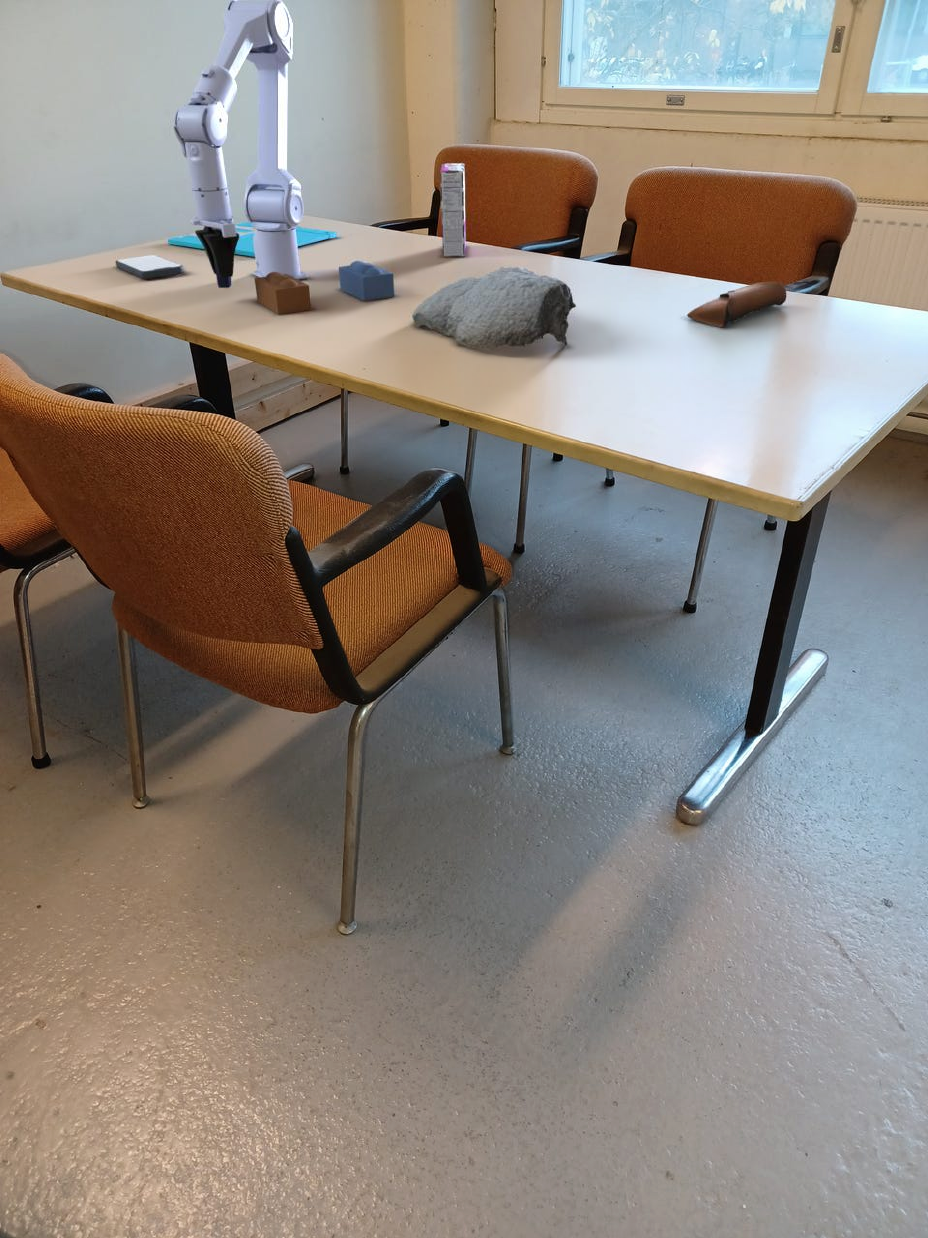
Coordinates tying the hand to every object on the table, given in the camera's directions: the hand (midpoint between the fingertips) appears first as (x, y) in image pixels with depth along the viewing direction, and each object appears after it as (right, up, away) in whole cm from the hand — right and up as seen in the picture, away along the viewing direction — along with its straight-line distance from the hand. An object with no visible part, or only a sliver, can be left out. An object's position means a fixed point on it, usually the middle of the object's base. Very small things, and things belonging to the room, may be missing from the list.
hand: (223, 274), depth 153 cm
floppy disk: (-6, +26, +47) cm, 54 cm away
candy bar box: (+40, +19, +36) cm, 57 cm away
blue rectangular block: (+24, -1, +7) cm, 25 cm away
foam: (+47, -14, -14) cm, 51 cm away
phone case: (-21, +10, +23) cm, 33 cm away
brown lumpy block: (+11, -5, 0) cm, 12 cm away
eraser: (0, -2, +1) cm, 2 cm away
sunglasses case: (+87, -9, -6) cm, 88 cm away
